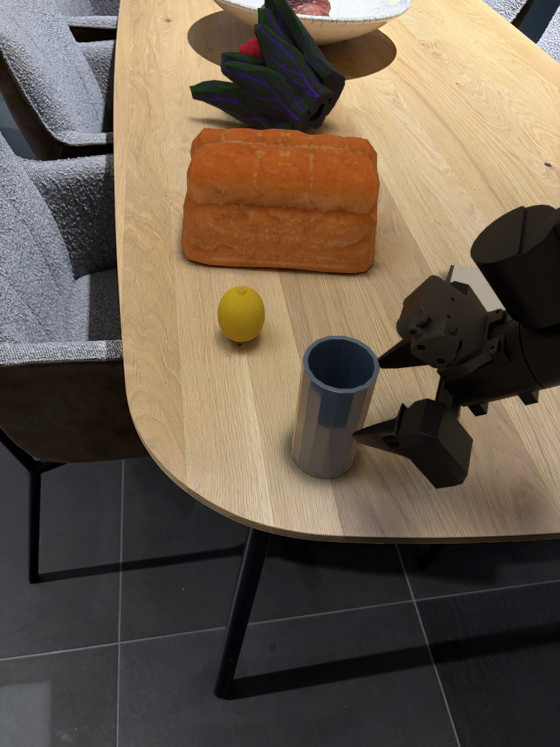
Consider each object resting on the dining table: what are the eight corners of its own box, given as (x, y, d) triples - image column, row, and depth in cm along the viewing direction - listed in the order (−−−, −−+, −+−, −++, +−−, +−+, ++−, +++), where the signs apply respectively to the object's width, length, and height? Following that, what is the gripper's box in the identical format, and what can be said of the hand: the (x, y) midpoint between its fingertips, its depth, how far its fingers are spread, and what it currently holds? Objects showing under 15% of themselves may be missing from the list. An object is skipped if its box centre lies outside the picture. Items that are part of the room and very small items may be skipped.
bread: (375, 279, 82) (398, 180, 71) (178, 266, 81) (170, 164, 70) (368, 218, 91) (387, 122, 80) (191, 207, 90) (185, 108, 79)
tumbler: (361, 436, 65) (386, 347, 54) (345, 487, 61) (369, 402, 50) (302, 417, 66) (315, 327, 55) (282, 466, 62) (293, 379, 51)
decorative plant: (270, 199, 109) (165, 97, 115) (373, 110, 112) (266, 16, 118) (259, 127, 89) (133, 9, 95) (385, 22, 92) (255, -86, 98)
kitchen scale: (520, 294, 82) (527, 278, 80) (514, 344, 75) (522, 328, 73) (447, 275, 83) (452, 259, 81) (435, 322, 77) (441, 306, 75)
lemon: (269, 350, 72) (272, 301, 66) (224, 359, 71) (223, 309, 65) (256, 319, 76) (258, 269, 70) (213, 326, 74) (211, 276, 68)
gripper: (497, 201, 47) (342, 273, 58) (467, 367, 36) (279, 420, 46) (558, 302, 52) (405, 352, 62) (548, 477, 40) (361, 504, 50)
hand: (367, 399), depth 55 cm, fingers open, 9 cm apart
